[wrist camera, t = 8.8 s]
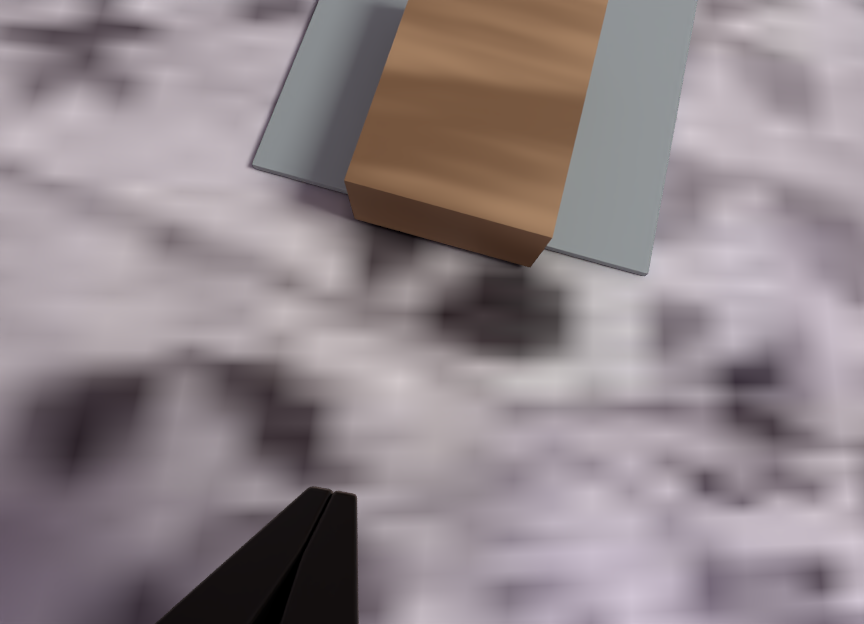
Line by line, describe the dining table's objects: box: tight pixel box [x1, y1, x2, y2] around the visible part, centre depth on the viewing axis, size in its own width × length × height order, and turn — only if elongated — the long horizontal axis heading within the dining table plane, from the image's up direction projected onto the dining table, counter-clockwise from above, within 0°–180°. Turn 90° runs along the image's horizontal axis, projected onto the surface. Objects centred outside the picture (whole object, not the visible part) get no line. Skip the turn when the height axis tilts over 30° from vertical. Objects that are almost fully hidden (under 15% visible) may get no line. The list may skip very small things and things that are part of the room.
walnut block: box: [344, 0, 608, 267], centre depth 18 cm, size 3×7×10 cm
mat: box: [252, 0, 698, 276], centre depth 20 cm, size 14×16×1 cm
